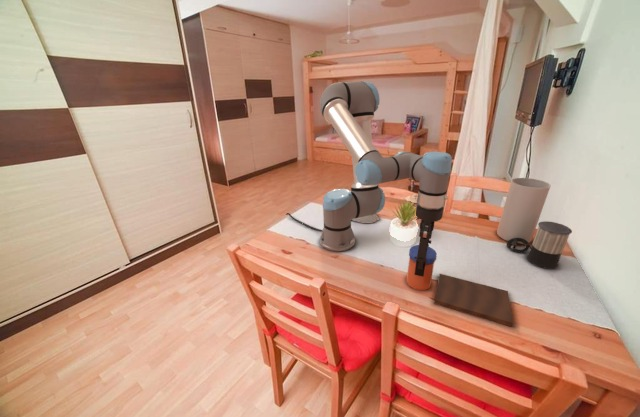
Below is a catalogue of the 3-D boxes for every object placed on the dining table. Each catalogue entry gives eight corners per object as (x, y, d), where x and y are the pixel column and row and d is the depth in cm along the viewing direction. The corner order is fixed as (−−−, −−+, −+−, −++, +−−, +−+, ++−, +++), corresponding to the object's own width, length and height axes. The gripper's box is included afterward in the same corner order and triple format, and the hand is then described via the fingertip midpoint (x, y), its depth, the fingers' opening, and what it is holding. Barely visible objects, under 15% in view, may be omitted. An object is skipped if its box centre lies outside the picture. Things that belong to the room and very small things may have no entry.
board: (434, 303, 81) (434, 299, 80) (438, 276, 92) (439, 273, 92) (511, 327, 72) (513, 323, 72) (506, 294, 83) (507, 290, 83)
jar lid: (413, 247, 91) (413, 242, 90) (438, 254, 87) (439, 249, 86) (405, 259, 85) (406, 254, 84) (432, 267, 80) (433, 262, 80)
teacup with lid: (417, 220, 131) (420, 199, 126) (400, 216, 137) (402, 195, 132) (426, 212, 139) (429, 192, 134) (409, 208, 145) (412, 188, 140)
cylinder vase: (520, 247, 107) (539, 190, 96) (490, 234, 117) (504, 181, 106) (537, 239, 112) (557, 184, 101) (506, 227, 122) (522, 176, 112)
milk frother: (559, 272, 92) (575, 236, 86) (505, 259, 100) (516, 225, 94) (553, 252, 103) (566, 219, 97) (505, 242, 111) (515, 210, 105)
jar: (404, 285, 89) (408, 257, 84) (408, 272, 95) (412, 245, 90) (428, 293, 85) (434, 263, 80) (431, 278, 91) (436, 250, 87)
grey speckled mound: (346, 203, 152) (346, 193, 149) (384, 217, 137) (385, 206, 134) (329, 215, 143) (328, 204, 139) (368, 231, 128) (368, 219, 124)
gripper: (442, 222, 68) (429, 290, 77) (445, 194, 85) (435, 253, 94) (411, 217, 71) (403, 283, 80) (421, 191, 88) (413, 248, 97)
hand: (420, 267), depth 87 cm, fingers closed on jar lid, 8 cm apart
